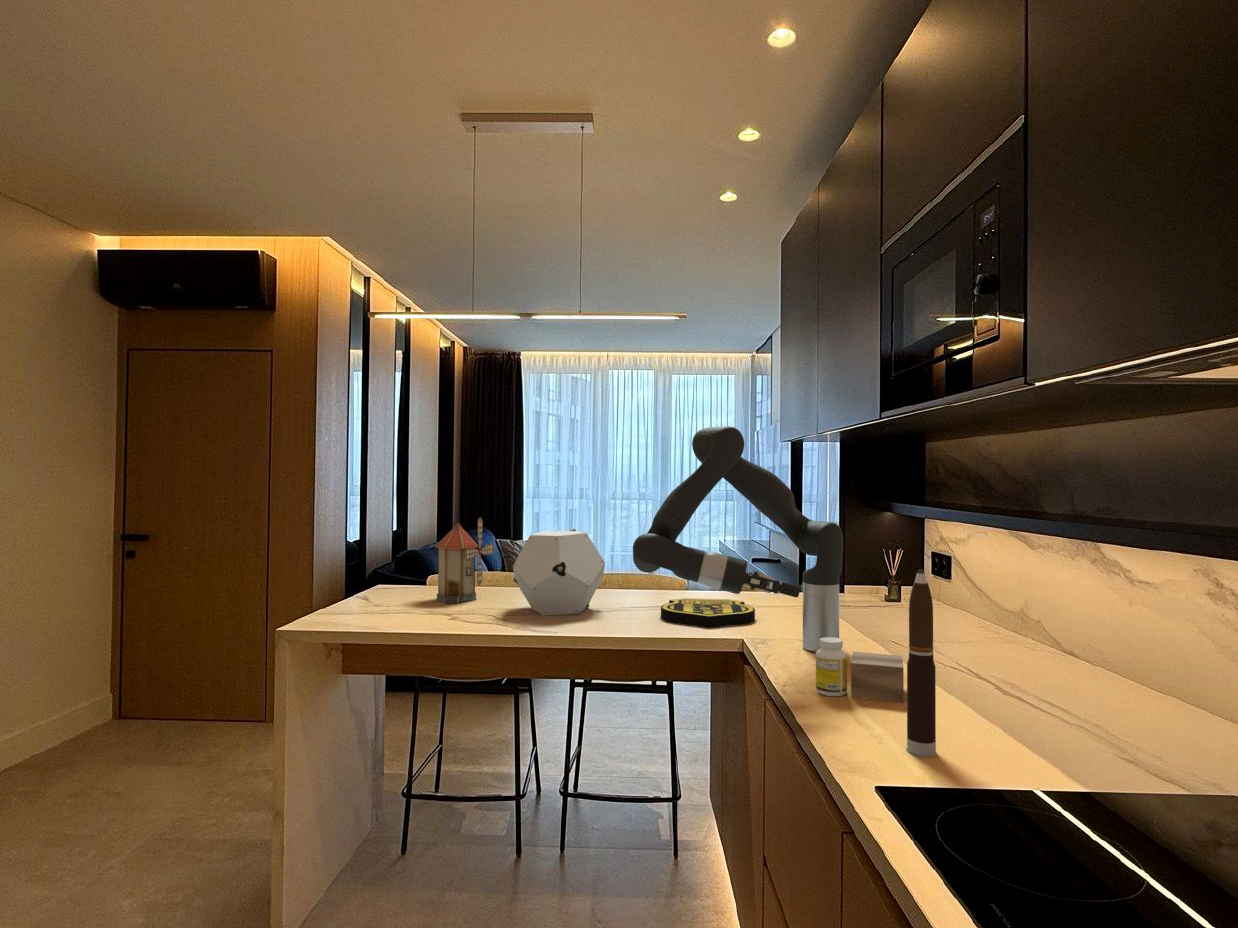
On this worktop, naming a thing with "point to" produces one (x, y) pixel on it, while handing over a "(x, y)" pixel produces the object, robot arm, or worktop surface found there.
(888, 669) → the walnut block
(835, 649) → the pill bottle
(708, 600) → the emblem
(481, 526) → the miniature windmill
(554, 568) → the geometric sculpture
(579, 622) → the worktop surface
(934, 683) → the ammunition
